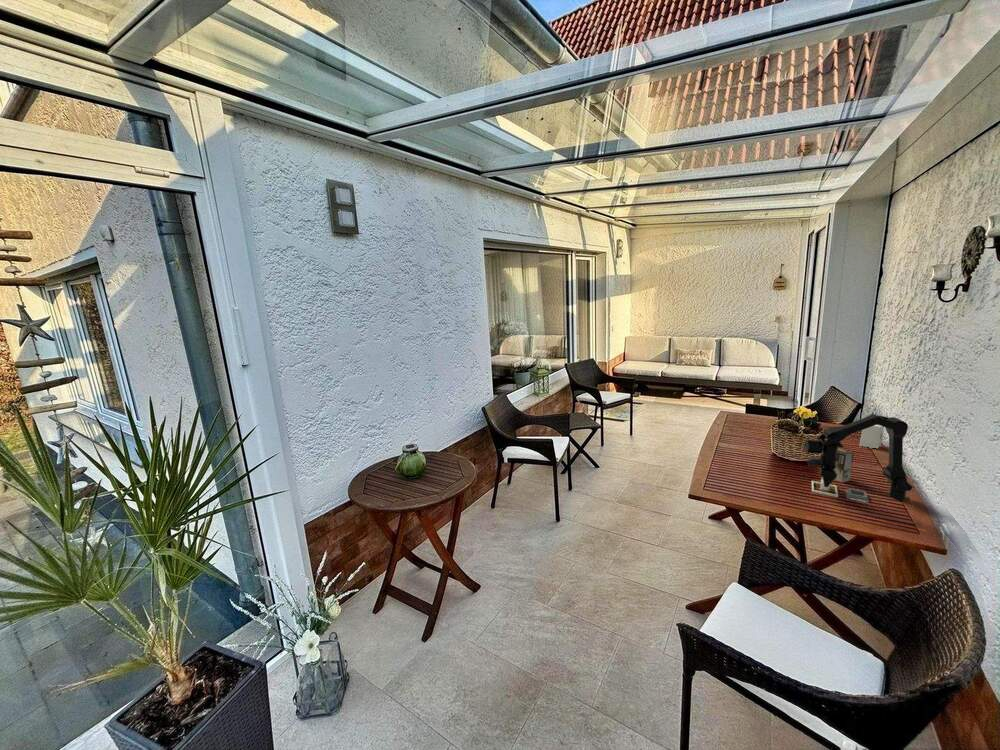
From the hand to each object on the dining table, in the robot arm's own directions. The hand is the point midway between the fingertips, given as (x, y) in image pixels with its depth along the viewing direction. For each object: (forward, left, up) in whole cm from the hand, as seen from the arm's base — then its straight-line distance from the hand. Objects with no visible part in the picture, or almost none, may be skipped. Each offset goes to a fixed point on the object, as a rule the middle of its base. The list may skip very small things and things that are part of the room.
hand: (825, 483), depth 206 cm
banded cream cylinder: (0, 0, -4) cm, 4 cm away
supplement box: (-84, +26, -4) cm, 88 cm away
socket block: (0, +12, -4) cm, 13 cm away
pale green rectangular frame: (0, 0, -4) cm, 4 cm away
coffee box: (-19, +6, -4) cm, 20 cm away
